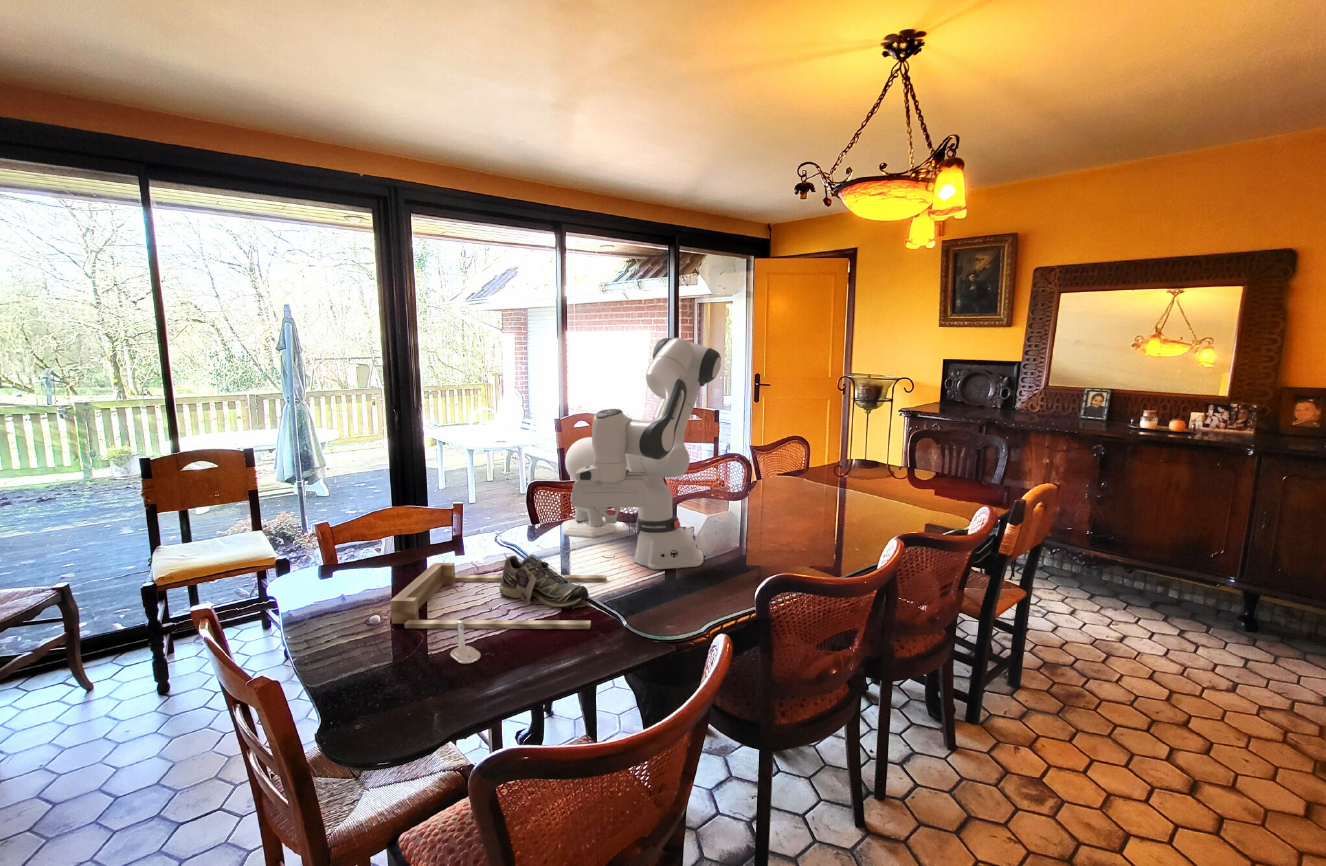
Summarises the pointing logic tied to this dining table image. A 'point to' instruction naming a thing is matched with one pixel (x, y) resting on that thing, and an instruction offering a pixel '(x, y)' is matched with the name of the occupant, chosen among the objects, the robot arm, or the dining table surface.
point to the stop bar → (421, 591)
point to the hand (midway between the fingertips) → (611, 522)
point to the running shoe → (539, 584)
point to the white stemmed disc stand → (464, 648)
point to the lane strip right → (498, 577)
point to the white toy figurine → (585, 517)
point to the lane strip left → (500, 624)
